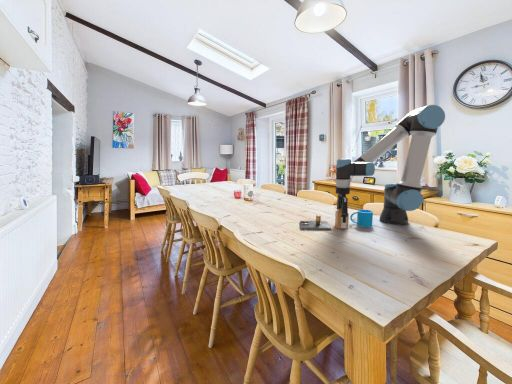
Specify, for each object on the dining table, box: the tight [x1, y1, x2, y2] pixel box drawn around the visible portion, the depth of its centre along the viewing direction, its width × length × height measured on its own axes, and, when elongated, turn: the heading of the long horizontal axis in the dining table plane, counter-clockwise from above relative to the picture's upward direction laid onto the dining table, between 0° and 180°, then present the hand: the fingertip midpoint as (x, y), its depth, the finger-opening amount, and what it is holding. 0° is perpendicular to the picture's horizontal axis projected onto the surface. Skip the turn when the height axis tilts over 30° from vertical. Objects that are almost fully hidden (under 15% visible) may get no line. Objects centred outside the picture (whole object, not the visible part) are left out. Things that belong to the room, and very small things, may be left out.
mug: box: [349, 209, 374, 228], centre depth 142 cm, size 12×8×8 cm
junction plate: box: [299, 214, 332, 231], centre depth 141 cm, size 16×14×6 cm
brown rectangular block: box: [334, 208, 350, 229], centre depth 138 cm, size 6×6×10 cm
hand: (341, 225), depth 139 cm, fingers open, 10 cm apart
